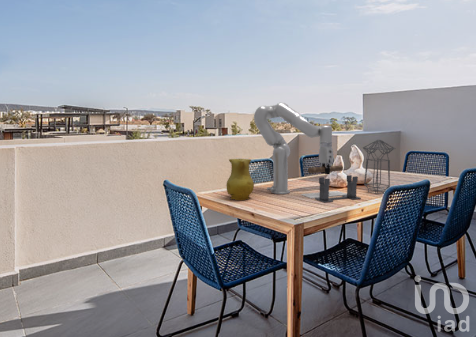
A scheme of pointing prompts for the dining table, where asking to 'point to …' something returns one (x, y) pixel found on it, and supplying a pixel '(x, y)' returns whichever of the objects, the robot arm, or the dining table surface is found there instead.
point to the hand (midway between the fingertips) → (325, 173)
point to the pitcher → (240, 180)
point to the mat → (317, 195)
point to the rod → (322, 169)
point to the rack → (350, 195)
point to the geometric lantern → (377, 163)
